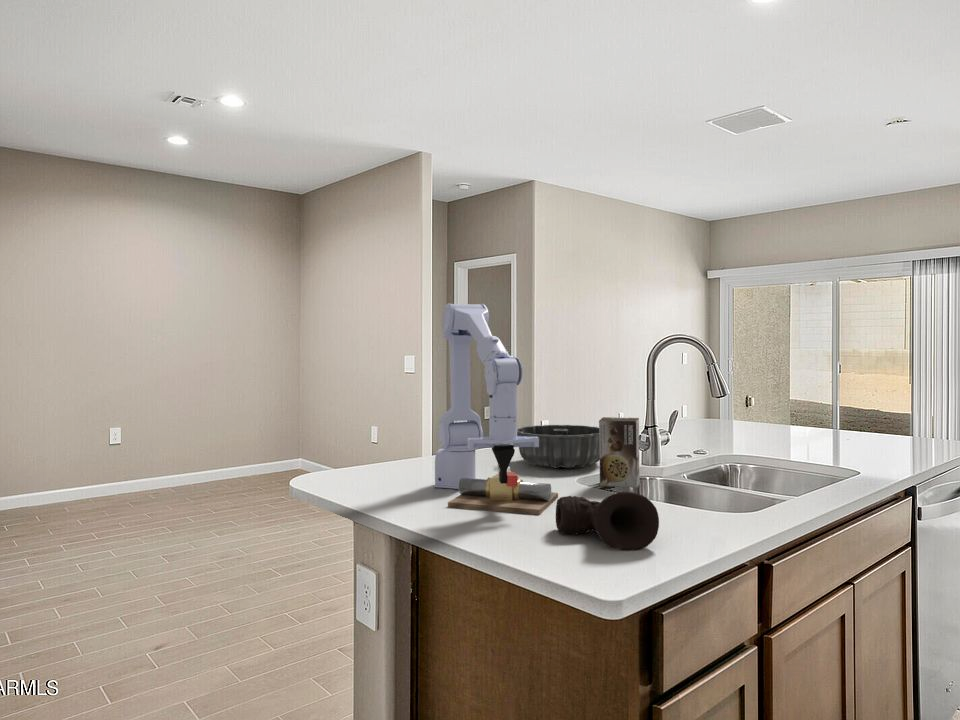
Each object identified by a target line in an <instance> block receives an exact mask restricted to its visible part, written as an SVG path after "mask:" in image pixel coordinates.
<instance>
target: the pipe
mask: <svg viewBox="0 0 960 720" xmlns="http://www.w3.org/2000/svg"><path fill="white" fill-rule="evenodd" d="M654 504H655V503H653V502H652V501H651V500H650V499H648V497H646V496H644V495H643V494H641V493H636V492H632V491H618V492H615V493H613V494H610V495H608V496H606V497H605V498H604V499H603V500H601V501H596V500H592V501H591V500H589V499H588V498H586V497H584V496H576V495H574V496H573V495H568V496H561V497H558V498H557V499H556V506H555V525H556V529H557V530H558V532H559V533H561V534H565V535H566V534H567V535H571V534H573V535H579V534H583V533H588V532H591V531H593V532H597V534H598V536H599V538H600V539H601V540H602V541H603V543H604V544H606V546H608V547H610V548H611V549H615V550H619V551H622V552H623V551H624V552H626V551H627V552H630V551H639V550H643V549H644V548H646V547H648V546H649V545H650V544H651V543H653V542H654V540H655V539H656V537H657V535H658V533H659V532H658V531H659V528H660V518H659V512H658V510H657V507H656V506H655V505H654Z"/></svg>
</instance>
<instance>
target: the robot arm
mask: <svg viewBox="0 0 960 720" xmlns="http://www.w3.org/2000/svg"><path fill="white" fill-rule="evenodd" d="M441 321H442V322H441V324H442V325H441V329H442V331H441V332H442V338H444V339H445V340H447V341H448V346H449V347H448V349H449V385H450V386H449V390H450V391H449V393H450V397H449V398H450V408H449V409H448V410H447V411H445V412H444V413H443V414H442V415H441V416H440V417H439V424H438V425H439V426H438V429H437V439H438V444H439V445H440V447H441V448H439V449H438V450H437V451H436V453H435V458H434V485H433V487H434V488H440V489H441V488H442V489H454V490H455V489H456V490H459V482H460V479H461V478H471V479H477V478H476V451H477V450H479V449H489V448H491V450H492V453H493V455H494V457H495V459H496V462H497V464H498V467H499V469H500V472H499V482H500V483H501V484H505V483H507V469H508V466H509V467H510V464H511V461H512V459H513V457H514V456H515V451H516V450H515V448H519V447H539V438H538V437H526V436H517V428H518V386H519V385H520V384H521V382H522V379H523V367H522V362H521V361H520V358H519V357H517V356H515V357H514V356H513V355H510V354H509V352H508V351H507V349H506V347H505V346H504V344H503V342H502V341H501V339H500V338H499V337H498V336H495V335H493V334H492V332H491V329H490V327H489V321H490V314H489V309H488V307H487V306H486V305H485V304H484V303H479V304H473V303H471V304H470V303H467V304H465V303H463V304H462V303H450V302H449V303H447V304H445V306H444V307H443V311H442V314H441ZM472 341H475V343H477V344H476V349H475V350H476V353H477V356H478V357H479V359H480V361H481V363H482V365H483V367H484V371H483V372H484V374H483V375H484V380H485V382H486V383H485V384H486V393H487V395H489V397H488V398H489V401H488V402H489V403H488V404H489V406H488V407H489V408H488V411H489V412H488V413H489V415H488V416H489V417H488V418H489V419H488V420H489V422H488V423H489V424H488V425H489V427H488V428H489V436H484V432H483V427H482V421H481V420H482V419H481V416H480V415H479V414H478V413H477V412H476V411H474V410H472V409H471V408H472V403H471V402H472V401H471V399H472V398H471V397H472V396H471V356H470V355H471V354H470V353H471V352H470V345H471V343H472Z"/></svg>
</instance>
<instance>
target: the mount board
mask: <svg viewBox="0 0 960 720" xmlns="http://www.w3.org/2000/svg"><path fill="white" fill-rule="evenodd" d="M558 499H559V493H558V492H552V491H551V498H550V501H542V500H529V499H520V500H513V501H508V500H495V499H490V498H486V496H477V495H464V494H460V495H458V496H456V497H454V498H453V499H451V500H449V501H448V502H447V507H448V508H455V507H456V508H457V509H469V510H470V509H471V510H480V511H491V512H492V511H493V512H505V513H515V514H527V515H539V516H540V515H541V514H542V513H543V512H544V511H546V510H547V508H548V507H549V506H551V505H552V504H553V503H554V502H555V501H557V500H558Z"/></svg>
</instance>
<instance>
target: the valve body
mask: <svg viewBox="0 0 960 720" xmlns="http://www.w3.org/2000/svg"><path fill="white" fill-rule="evenodd" d="M516 475H517V474H516ZM458 492H459V494H460V495H461V494H464V495H477V496H486V498H490V499H495V500H508V501H513V500H520V499H529V500H542V501H550V498H551V492H552V485H551V483H542V482H541V483H540V482H528V481H523V479H520V475H517V487H507V485H506V484H501V483H500V482H499V475H498V474H495V475H493V476H492V477H487V478H486V479H485V478H484V479H483V478H476V479H471V478H461V479H460V482H459V489H458Z"/></svg>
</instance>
